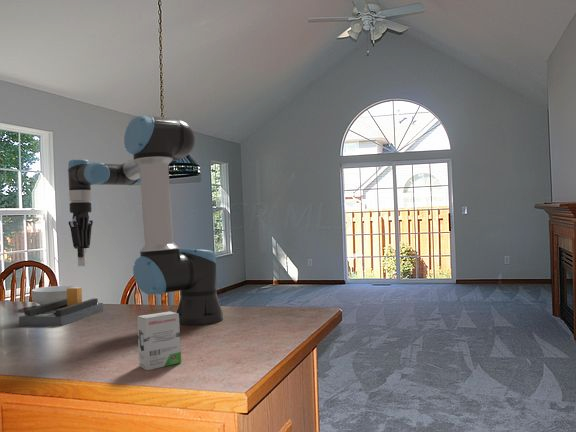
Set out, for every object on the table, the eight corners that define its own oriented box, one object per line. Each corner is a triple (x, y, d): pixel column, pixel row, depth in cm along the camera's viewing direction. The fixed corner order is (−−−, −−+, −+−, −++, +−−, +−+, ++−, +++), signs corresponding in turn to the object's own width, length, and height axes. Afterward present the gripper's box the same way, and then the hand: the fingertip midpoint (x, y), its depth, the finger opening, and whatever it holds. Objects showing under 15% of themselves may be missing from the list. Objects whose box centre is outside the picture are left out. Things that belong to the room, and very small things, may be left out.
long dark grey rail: (97, 303, 200) (97, 298, 200) (60, 315, 177) (60, 310, 177) (93, 303, 200) (92, 298, 200) (55, 315, 177) (55, 310, 177)
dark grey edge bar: (70, 303, 202) (69, 298, 202) (29, 315, 179) (29, 310, 179) (65, 303, 202) (65, 298, 202) (25, 315, 179) (24, 310, 179)
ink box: (172, 359, 132) (171, 310, 132) (182, 363, 128) (180, 312, 128) (138, 366, 127) (136, 315, 126) (146, 371, 123) (144, 318, 122)
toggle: (82, 304, 198) (81, 286, 197) (77, 305, 195) (76, 288, 194) (71, 304, 198) (71, 286, 198) (67, 305, 195) (66, 288, 195)
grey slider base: (102, 310, 201) (102, 301, 201) (61, 326, 175) (61, 314, 175) (65, 310, 204) (65, 301, 204) (19, 325, 178) (18, 314, 178)
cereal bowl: (62, 310, 205) (61, 291, 205) (22, 310, 208) (21, 291, 208) (86, 302, 222) (86, 285, 222) (49, 302, 225) (48, 285, 225)
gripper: (80, 202, 209) (82, 264, 209) (60, 202, 196) (63, 268, 197) (98, 201, 208) (100, 264, 208) (80, 201, 195) (82, 268, 195)
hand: (82, 266), depth 202 cm, fingers closed
